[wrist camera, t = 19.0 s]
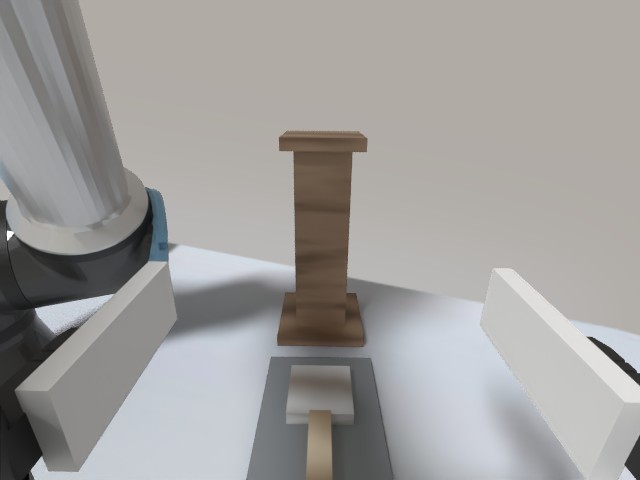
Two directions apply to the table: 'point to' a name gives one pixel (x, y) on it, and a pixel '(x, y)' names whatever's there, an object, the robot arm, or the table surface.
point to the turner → (320, 411)
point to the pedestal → (321, 241)
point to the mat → (347, 440)
